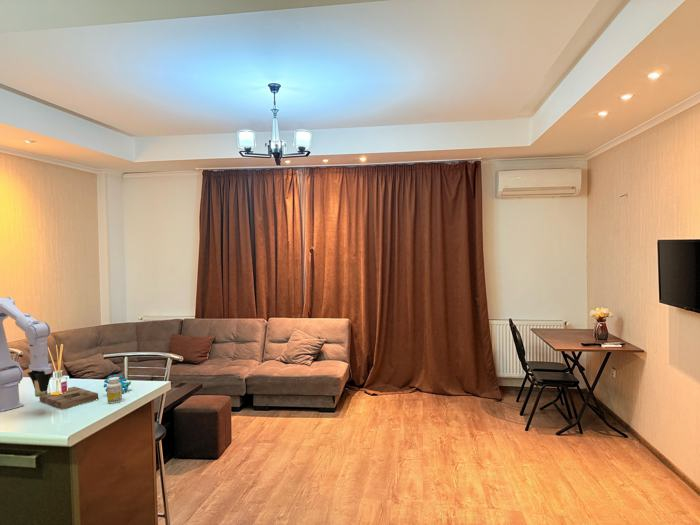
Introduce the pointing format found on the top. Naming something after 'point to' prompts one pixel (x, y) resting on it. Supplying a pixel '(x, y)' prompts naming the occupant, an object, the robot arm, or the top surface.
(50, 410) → the top surface
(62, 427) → the top surface
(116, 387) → the supplement bottle
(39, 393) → the cylinder
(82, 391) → the jig plate
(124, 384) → the gear
